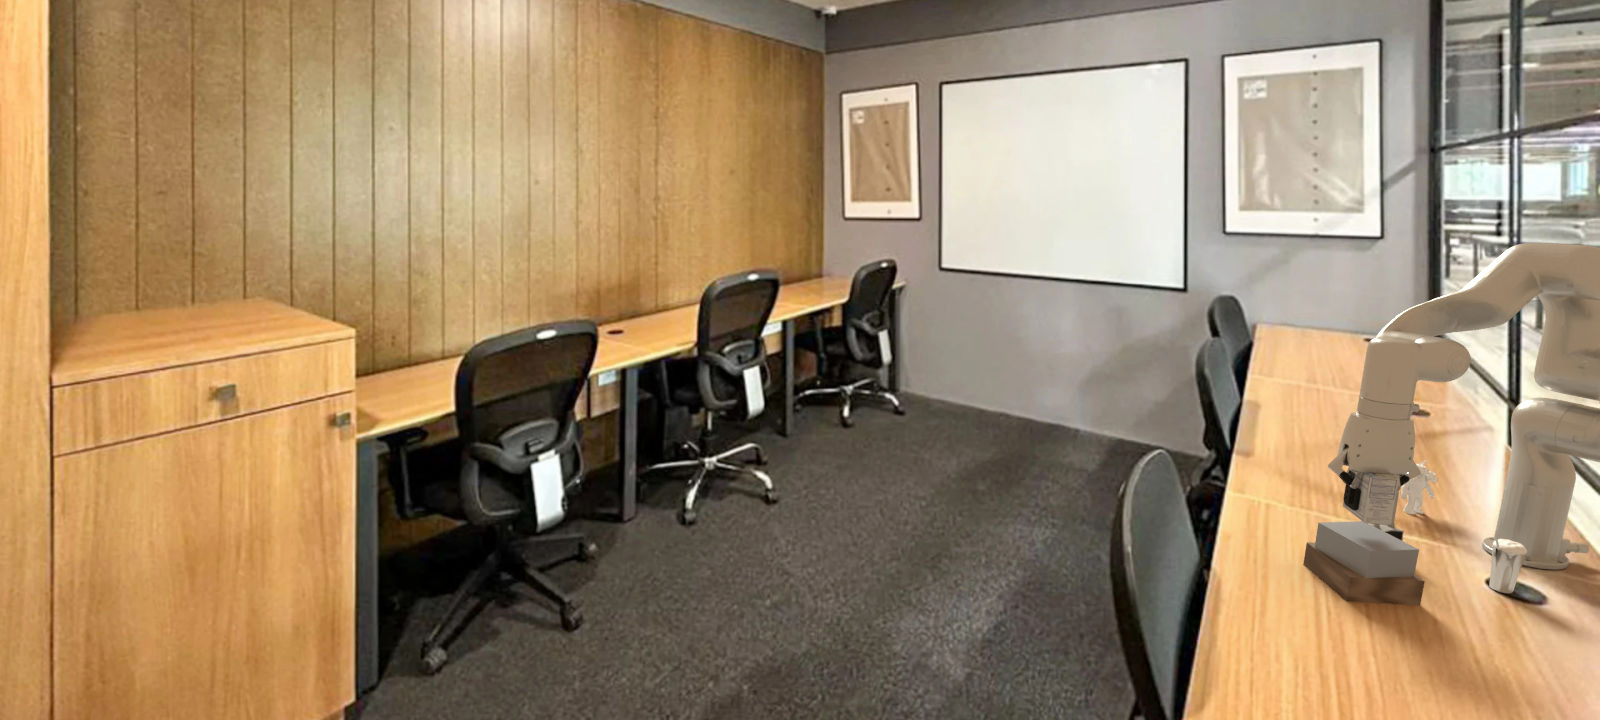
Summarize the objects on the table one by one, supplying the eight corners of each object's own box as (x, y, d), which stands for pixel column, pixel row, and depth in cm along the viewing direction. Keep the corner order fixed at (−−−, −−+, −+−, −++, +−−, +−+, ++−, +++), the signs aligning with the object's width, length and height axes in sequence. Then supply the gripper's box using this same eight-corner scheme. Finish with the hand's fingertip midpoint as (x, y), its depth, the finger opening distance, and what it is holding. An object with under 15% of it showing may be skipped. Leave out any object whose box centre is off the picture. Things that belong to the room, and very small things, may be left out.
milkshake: (1473, 583, 143) (1483, 532, 140) (1500, 582, 143) (1511, 531, 141) (1497, 596, 138) (1508, 543, 136) (1525, 595, 139) (1536, 542, 137)
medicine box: (1391, 526, 135) (1400, 478, 133) (1362, 523, 136) (1371, 476, 134) (1368, 509, 142) (1376, 463, 141) (1341, 506, 143) (1349, 461, 142)
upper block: (1359, 546, 147) (1363, 521, 146) (1414, 576, 135) (1419, 549, 134) (1314, 547, 146) (1318, 522, 145) (1366, 578, 134) (1370, 551, 133)
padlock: (1373, 562, 150) (1386, 489, 147) (1354, 553, 154) (1366, 481, 151) (1402, 560, 152) (1415, 486, 149) (1382, 550, 156) (1395, 479, 153)
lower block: (1369, 570, 148) (1373, 545, 147) (1419, 607, 135) (1424, 581, 134) (1302, 566, 149) (1306, 542, 148) (1345, 603, 136) (1350, 577, 135)
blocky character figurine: (1420, 507, 178) (1429, 457, 176) (1437, 513, 175) (1447, 462, 172) (1388, 510, 176) (1397, 459, 174) (1404, 516, 173) (1413, 465, 170)
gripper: (1423, 406, 138) (1406, 503, 141) (1320, 401, 140) (1305, 497, 144) (1452, 417, 130) (1433, 520, 134) (1342, 412, 133) (1326, 513, 136)
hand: (1367, 507), depth 139 cm, fingers closed on medicine box, 4 cm apart
